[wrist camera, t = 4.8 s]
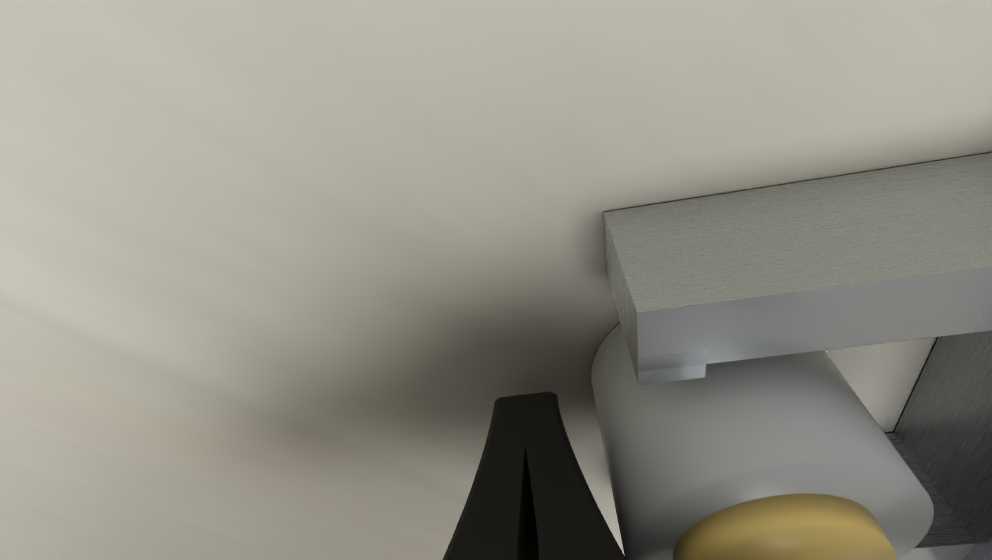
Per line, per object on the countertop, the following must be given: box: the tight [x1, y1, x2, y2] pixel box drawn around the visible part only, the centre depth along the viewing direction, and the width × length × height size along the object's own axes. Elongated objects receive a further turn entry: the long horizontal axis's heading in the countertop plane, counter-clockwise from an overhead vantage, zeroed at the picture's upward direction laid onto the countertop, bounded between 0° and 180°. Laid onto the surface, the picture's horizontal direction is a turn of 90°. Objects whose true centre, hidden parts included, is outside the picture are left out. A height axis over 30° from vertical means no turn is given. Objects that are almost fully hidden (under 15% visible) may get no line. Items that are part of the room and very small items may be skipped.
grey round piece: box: [591, 323, 934, 560], centre depth 10 cm, size 5×5×4 cm
